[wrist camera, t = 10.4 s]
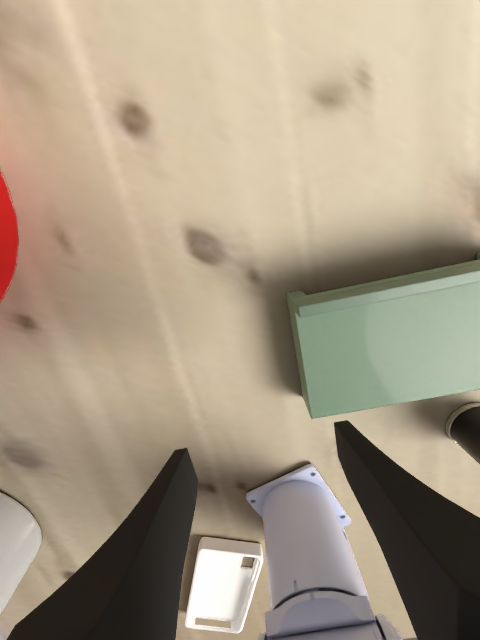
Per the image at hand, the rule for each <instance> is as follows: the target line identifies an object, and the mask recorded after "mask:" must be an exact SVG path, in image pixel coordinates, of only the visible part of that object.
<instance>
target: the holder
mask: <svg viewBox="0 0 480 640" xmlns="http://www.w3.org/2000/svg"><path fill="white" fill-rule="evenodd" d="M446 432H447V435H448V436H449V437H450V438H451V439H452V440H453V441H454V442H455V443H457V444H459V445H460V446H461V447H462V448H463V449H464V450H465V451H466V452H467V453H468V454H469V455H470V456H472V457H473V458H474V459H475V460H476V461H477V462H478V463H479V464H480V403H470V404H466V405H464V406H462V407H460V408H458V409H457V410H455V411H454V412H453V413H452V414H451V415H450V417H449V418H448V420H447V423H446Z"/></svg>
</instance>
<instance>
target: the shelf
mask: <svg viewBox="0 0 480 640" xmlns="http://www.w3.org/2000/svg"><path fill="white" fill-rule="evenodd" d="M286 297H287V303H288V309H289V315H290V321H291V327H292V334H293V340H294V346H295V352H296V358H297V364H298V370H299V376H300V383H301V389H302V395H303V399H304V401H305V404H306V406H307V409H308V411H309V414H310V416H311V419H314V418H320V417H325V416H331V415H337V414H343V413H348V412H354V411H360V410H366V409H371V408H377V407H383V406H388V405H394V404H400V403H406V402H411V401H417V400H423V399H429V398H434V397H440V396H446V395H451V394H457V393H463V392H469V391H474V390H480V253H477V257H476V260H474V261H469V262H464V263H459V264H455V265H450V266H445V267H440V268H435V269H431V270H426V271H421V272H416V273H411V274H406V275H402V276H397V277H392V278H387V279H382V280H377V281H373V282H368V283H363V284H358V285H353V286H349V287H344V288H339V289H334V290H329V291H324V292H320V293H315V294H310V295H306V294H304V293H303V292H302V291H301V290H299V291H294V292H289V293H286Z"/></svg>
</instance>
